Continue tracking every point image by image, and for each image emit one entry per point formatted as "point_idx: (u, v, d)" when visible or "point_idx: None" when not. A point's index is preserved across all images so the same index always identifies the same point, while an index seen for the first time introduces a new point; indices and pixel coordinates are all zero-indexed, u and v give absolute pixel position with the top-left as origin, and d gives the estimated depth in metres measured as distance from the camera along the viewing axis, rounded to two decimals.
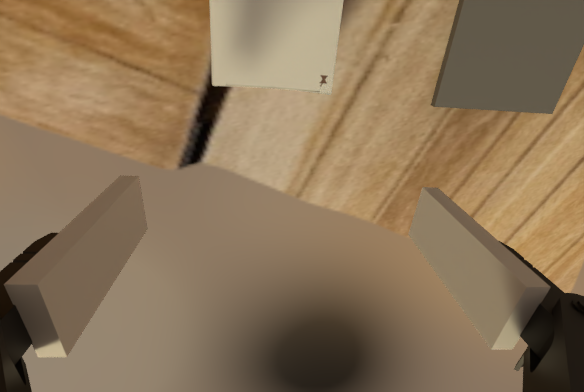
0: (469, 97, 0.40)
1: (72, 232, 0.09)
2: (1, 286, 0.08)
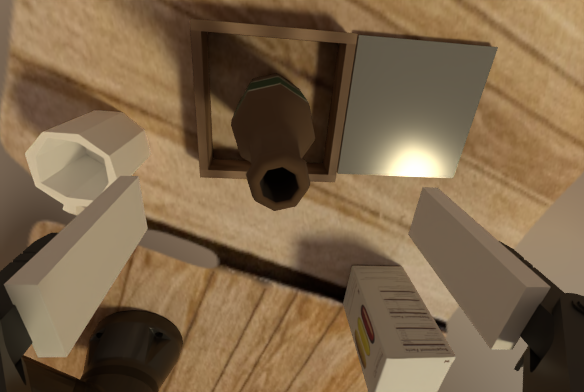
0: (453, 148, 0.42)
1: (72, 232, 0.09)
2: (1, 286, 0.08)
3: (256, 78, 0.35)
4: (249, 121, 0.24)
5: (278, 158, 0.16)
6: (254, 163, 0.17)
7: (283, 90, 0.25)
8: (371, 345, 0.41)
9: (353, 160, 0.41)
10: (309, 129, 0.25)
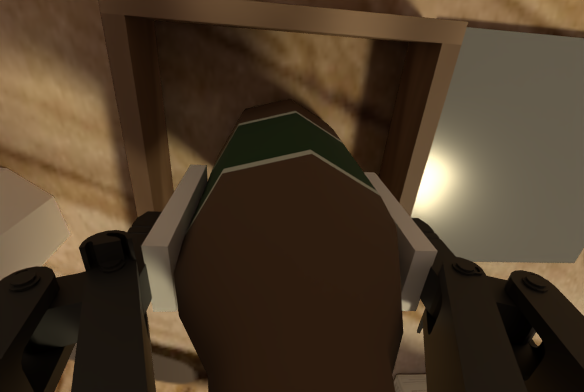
0: None
1: (174, 209, 0.11)
2: None
3: (251, 110, 0.18)
4: (216, 311, 0.07)
5: None
6: None
7: (325, 187, 0.08)
8: None
9: None
10: (401, 300, 0.09)
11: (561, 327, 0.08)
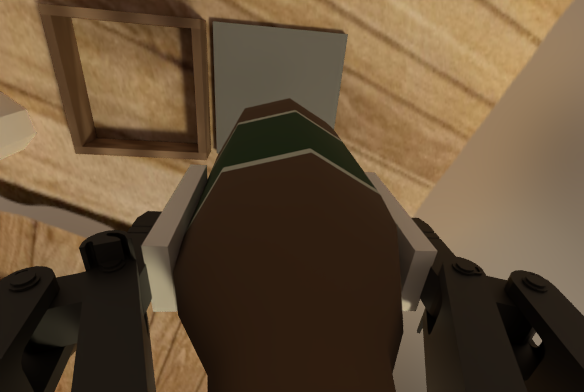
0: None
1: (174, 209, 0.11)
2: None
3: (251, 109, 0.18)
4: (215, 310, 0.07)
5: None
6: None
7: (325, 186, 0.08)
8: None
9: None
10: (401, 299, 0.09)
11: (561, 327, 0.08)
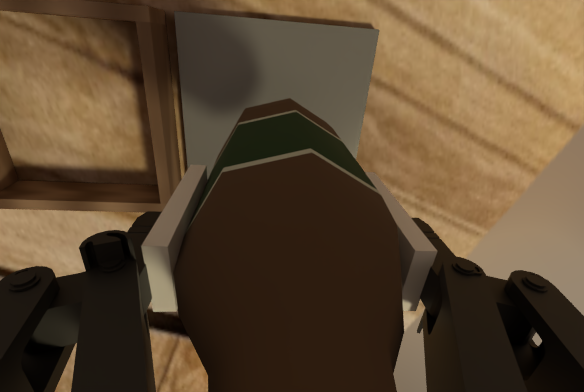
0: None
1: (174, 208, 0.11)
2: None
3: (251, 109, 0.18)
4: (215, 311, 0.07)
5: None
6: None
7: (326, 186, 0.08)
8: None
9: None
10: (401, 299, 0.09)
11: (561, 327, 0.08)
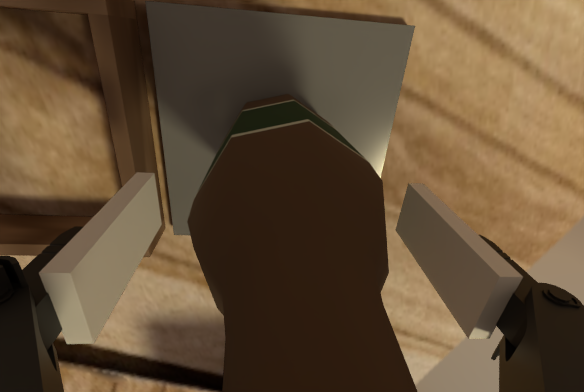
0: None
1: (97, 225, 0.10)
2: (33, 275, 0.08)
3: (253, 102, 0.20)
4: (228, 234, 0.08)
5: None
6: None
7: (321, 141, 0.10)
8: None
9: None
10: (386, 241, 0.10)
11: None
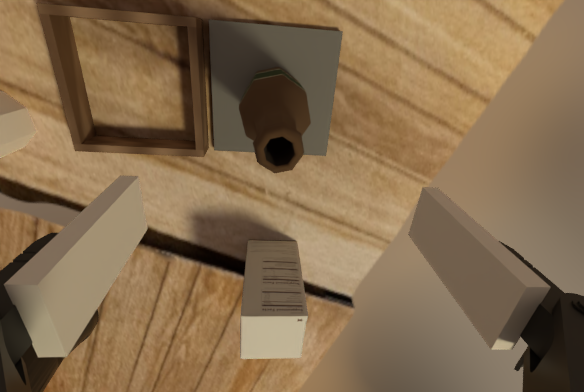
0: (320, 127, 0.45)
1: (72, 232, 0.09)
2: (1, 286, 0.08)
3: (260, 70, 0.39)
4: (255, 104, 0.28)
5: (279, 129, 0.21)
6: (260, 133, 0.21)
7: (284, 79, 0.29)
8: None
9: (227, 137, 0.45)
10: (305, 113, 0.30)
11: None
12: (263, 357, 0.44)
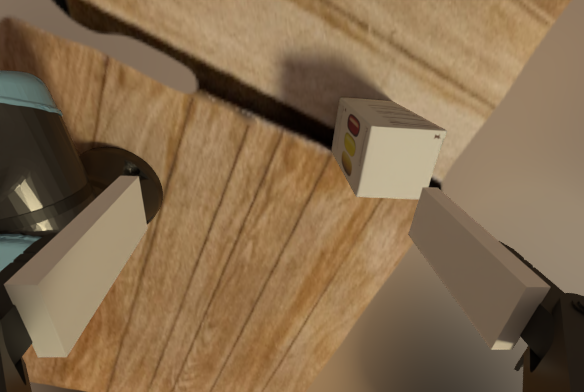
0: None
1: (72, 232, 0.09)
2: (1, 286, 0.08)
3: None
4: None
5: None
6: None
7: None
8: (357, 138, 0.38)
9: None
10: None
11: None
12: (383, 195, 0.38)
